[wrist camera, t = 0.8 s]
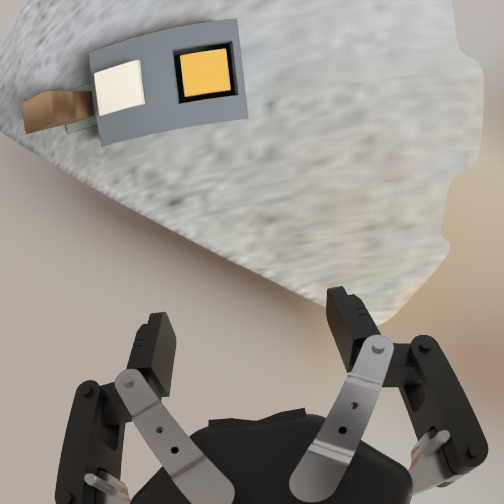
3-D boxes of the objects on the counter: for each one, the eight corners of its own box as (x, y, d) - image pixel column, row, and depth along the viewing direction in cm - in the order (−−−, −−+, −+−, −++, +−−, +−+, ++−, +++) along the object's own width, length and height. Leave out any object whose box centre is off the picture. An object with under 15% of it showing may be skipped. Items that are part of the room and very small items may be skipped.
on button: (106, 75, 25) (94, 73, 22) (146, 64, 25) (137, 59, 22) (111, 114, 28) (99, 116, 25) (151, 103, 28) (142, 103, 25)
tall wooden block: (69, 99, 28) (21, 103, 19) (91, 91, 28) (45, 90, 19) (73, 123, 30) (25, 134, 20) (94, 115, 30) (50, 123, 20)
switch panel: (105, 58, 27) (88, 52, 22) (235, 29, 27) (236, 18, 23) (116, 141, 33) (101, 146, 28) (245, 117, 33) (248, 118, 29)
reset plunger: (182, 58, 27) (180, 55, 25) (226, 51, 27) (225, 48, 25) (187, 97, 29) (184, 96, 27) (230, 90, 29) (230, 89, 28)
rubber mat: (63, 94, 28) (61, 94, 28) (100, 80, 28) (98, 79, 28) (69, 133, 31) (67, 134, 31) (106, 121, 31) (104, 121, 31)
